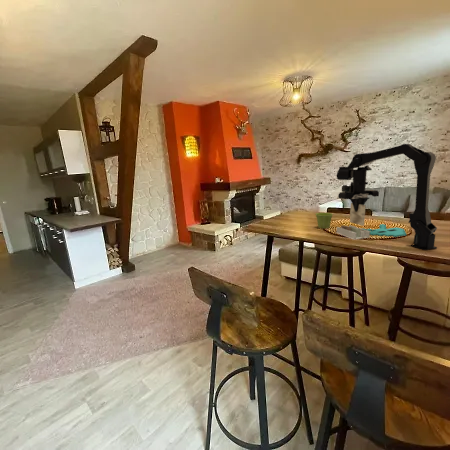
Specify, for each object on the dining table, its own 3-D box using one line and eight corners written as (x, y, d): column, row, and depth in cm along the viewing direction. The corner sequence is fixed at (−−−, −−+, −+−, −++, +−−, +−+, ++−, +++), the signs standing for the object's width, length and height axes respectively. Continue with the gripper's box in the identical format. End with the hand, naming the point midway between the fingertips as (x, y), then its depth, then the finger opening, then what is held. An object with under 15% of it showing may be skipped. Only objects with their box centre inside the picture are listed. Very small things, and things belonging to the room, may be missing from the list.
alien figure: (352, 232, 140) (383, 241, 121) (353, 228, 139) (384, 237, 120) (382, 227, 145) (416, 236, 126) (382, 224, 144) (417, 232, 125)
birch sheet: (364, 225, 125) (365, 205, 123) (361, 225, 125) (363, 205, 123) (351, 221, 134) (352, 202, 132) (349, 222, 134) (350, 203, 131)
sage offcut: (359, 237, 126) (360, 229, 125) (357, 237, 125) (357, 229, 124) (351, 234, 131) (351, 226, 130) (349, 234, 131) (349, 226, 130)
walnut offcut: (350, 235, 129) (351, 227, 128) (348, 235, 129) (348, 228, 128) (343, 232, 135) (343, 225, 134) (340, 232, 134) (341, 225, 134)
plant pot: (314, 226, 154) (314, 212, 153) (330, 226, 152) (331, 212, 151) (316, 230, 146) (316, 215, 144) (333, 230, 144) (334, 215, 142)
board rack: (370, 239, 125) (371, 231, 124) (353, 241, 123) (353, 233, 122) (351, 232, 138) (351, 225, 137) (335, 234, 136) (335, 227, 135)
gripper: (364, 178, 134) (362, 207, 137) (332, 180, 131) (331, 210, 134) (380, 179, 123) (378, 210, 127) (346, 181, 120) (344, 214, 123)
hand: (357, 211), depth 128 cm, fingers closed on birch sheet, 1 cm apart
